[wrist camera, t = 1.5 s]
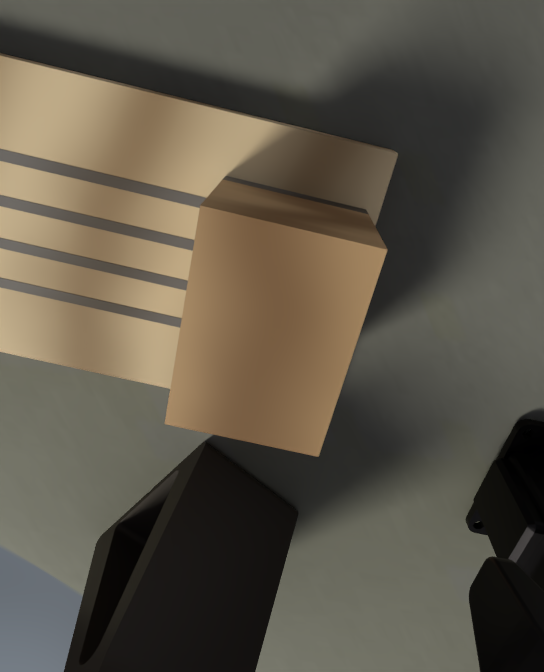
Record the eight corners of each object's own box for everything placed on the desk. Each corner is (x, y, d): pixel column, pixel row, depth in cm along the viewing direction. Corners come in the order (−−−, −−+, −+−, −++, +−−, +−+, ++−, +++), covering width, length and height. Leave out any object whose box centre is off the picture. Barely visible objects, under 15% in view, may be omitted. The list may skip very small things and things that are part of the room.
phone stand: (207, 438, 24) (131, 720, 13) (299, 508, 26) (297, 811, 15) (98, 536, 27) (-35, 829, 17) (186, 593, 29) (117, 895, 18)
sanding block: (365, 209, 18) (387, 249, 14) (314, 378, 21) (318, 456, 17) (225, 175, 18) (200, 205, 13) (194, 351, 21) (164, 423, 16)
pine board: (392, 149, 18) (398, 154, 17) (313, 404, 23) (314, 420, 22) (-123, 22, 17) (-152, 18, 16) (-96, 314, 22) (-116, 326, 21)
